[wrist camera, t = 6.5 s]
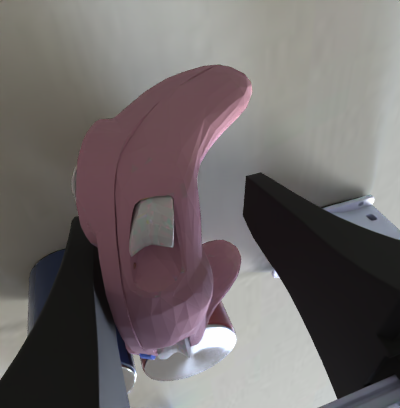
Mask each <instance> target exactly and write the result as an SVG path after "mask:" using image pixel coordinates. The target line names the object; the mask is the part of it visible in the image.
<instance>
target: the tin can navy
mask: <svg viewBox="0 0 400 408" xmlns="http://www.w3.org/2000/svg"><path fill="white" fill-rule="evenodd" d="M64 252H65V249H63V250H60V251H56V252H54V253H51V254H49V255H48V256H46V257H44V258H43V259H41V260H40V261H39V262H38V263H37V264H36V265H35V266H34V268H33V269H32V271H31V273H30V277H29V302H28V333H27V337H28V335H29V333H30V331H31V330H32V328H33V326H34V324H35V322H36V321H37V319H38V317H39V315H40V313H41V311H42V309H43V306H44V304H45V302H46V300H47V298H48V296H49V293H50V291H51V288H52V286H53V283H54V281H55V278H56V276H57V273H58V270H59V268H60V265H61V262H62V258H63V255H64ZM115 326H116V325H115ZM116 336H117V343H118V350H119V355H120V360H121V365H122V370H123V376H124V381H125V386H126V390H127V394H128V393H129V392H130V390H131V389H132V388H133V386H134V384H135V380H136V369H135V364H134V359H133V354H130V353H129V352H128V350H127V349H126V345H125V342H124V340H123V339H122V337H121V335H120V333H119V331H118V329H117V327H116Z"/></svg>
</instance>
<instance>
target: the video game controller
mask: <svg viewBox="0 0 400 408" xmlns="http://www.w3.org/2000/svg"><path fill="white" fill-rule="evenodd" d="M251 94H252V85H251V81H250V80H249V79H248V78H247V77H246V75H245V74H244V73H242V72H240V71H238V70H236V69H234V68H232V67H227V66H222V65H210V66H202V67H198V68H195V69H191V70H188V71H185V72H182V73H179V74H177V75H174V76H172V77H169V78H167V79H165V80H163V81H162V82H160V83H158V84H157V85H155V86H153V87H152V88H150V89H148V90H147V91H145V92H144V93H143V94H142V95H140V96H139V97H138V98H137V99H136V100H135V101H133V102H132V103H131V104H130V105H129V106H127V107H126V108H125V109H124V110H123V111H122V112H120V113H119V114H118V115H117V116H116V117H114V118H111V119H100V120H98V121H96V122H95V123H94V124H93V125H92V126H91V127H90V129H89V130H88V131H87V133H86V135H85V137H84V139H83V142H82V145H81V149H80V152H79V156H78V160H77V165H76V167H75V168H74V171H73V175H72V179H71V187H72V191H73V196H74V198H75V200H76V206H77V211H78V216H79V221H80V225H81V228H82V230H83V232H84V234H85V235H86V237H87V238H88V240H89V241H90V243H91V244H93V245H94V246H96V247H98V253H99V260H100V267H101V272H102V277H103V282H104V288H105V293H106V297H107V300H108V303H109V307H110V310H111V313H112V316H113V319H114V322H115V325H116V327H117V329H118V331H119V333H120V335H121V337H122V339H123V340H124V342H125V345H126V349H127V350H128V352H129V353H130V354H135V355H140V358H143V359H151V360H155V358H156V356H157V357H158V358H159V359H167V358H169V357H170V356H171V355H172V354H174V353H176V352H180V353H183V354H184V355H185V356H187V357H188V358H190V357H191V349H190V347H192V346H195V345H197V344H198V343H199V342H200V341H201V339H202V338H203V335H204V332H205V330H206V327H207V324H208V322H209V319H210V317H211V315H212V313H213V312H214V310H215V309H216V307H217V305H218V304H219V302H220V301H221V300H222V298H223V297H224V296H225V294H226V293H227V292H228V291H229V289H230V288H231V286H232V285H233V283H234V281H235V280H236V278H237V276H238V273H239V270H240V265H241V255H240V253H239V251H238V249H237V247H236V246H235V245H233V244H232V243H230V242H227V241H225V240H214V241H209V242H206V243H204V244H202V234H201V213H200V203H199V194H198V185H197V176H198V172H199V167H200V163H201V162H202V160H203V158H204V157H205V155H206V153H207V152H208V150H209V149H210V147H211V146H212V145H213V144H214V142H215V141H216V140H217V139H218V137H219V136H220V135H221V134H222V133H223V132H224V131H225V130H226V129H227V128H228V127H229V126H230V125H231V124H232V123H233V122H234V121H235V120H236V119H237V118H238V117H239V116H240V115H241V113H242V112H243V111H244V110H245V109H246V108H247V105H248V102H249V100H250V97H251Z"/></svg>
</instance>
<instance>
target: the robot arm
mask: <svg viewBox="0 0 400 408" xmlns="http://www.w3.org/2000/svg"><path fill="white" fill-rule="evenodd" d="M374 199H375V198H374V197H373V196H372V195H367V196H364V197H360V198H357V199H353V200H350V201H346V202H342V203H339V204H335V205H332V206H328V207H325V208H320V207H318V206H317V205H315V204H313V203H311V202H309V201H308V200H306V199H304V198H302V197H301V196H299V195H297V194H296V193H294V192H292V191H291V190H289V189H287V188H286V187H284V186H282V185H281V184H279V183H277V182H276V181H274V180H273V179H271V178H269V177H268V176H266V175H264V174H262V173H257V174H253V175H249V176H246V183H245V195H244V208H243V217H244V219H245V221H246V223H247V226H248V228H249V230H250V232H251V234H252V236H253V238H254V239H255V241H256V242H257V244H258V246H259V247H260V249H261V250H262V252H263V253H264V255H265V256H266V258H267V259H268V261H269V262H270V264H271V265H272V267H273V269H272V276H273V277H275V278H277V277H280V279H281V280H282V282H283V284H284V285H285V287H286V289H287V290H288V292H289V294H290V296H291V298H292V300H293V302H294V304H295V305H296V307H297V309H298V311H299V313H300V315H301V317H302V319H303V321H304V323H305V325H306V328H307V330H308V332H309V334H310V336H311V338H312V340H313V342H314V345H315V347H316V349H317V351H318V353H319V356H320V358H321V360H322V362H323V365H324V367H325V370H326V372H327V374H328V377H329V379H330V382H331V384H332V386H333V389H334V391H335V394H336V397H337V400H335V401H333V402H331V403H328V404H326V405H324V406H321V407H319V408H400V230H399V229H398V228H397V227H396V226H395V225H394V224H393V223H391V222H390V221H389V220H388V219H387V218H386V217H385V216H384V215H383V214H382V213H381V212H379V211H378V210H377V209H376V208H375V207H374V206H373V205H372V204H373V202H374ZM0 408H130V405H129V400H128V395H127V390H126V386H125V381H124V376H123V370H122V365H121V360H120V355H119V350H118V343H117V336H116V326H115V322H114V319H113V316H112V313H111V310H110V307H109V303H108V300H107V297H106V293H105V288H104V282H103V277H102V272H101V267H100V260H99V253H98V247H96V246H94V245H93V244H91V243H90V241H89V240H88V238H87V237H86V235H85V234H84V232H83V230H82V228H81V225H80V221H79V216H78V217H74V218H73V220H72V222H71V229H70V233H69V238H68V242H67V245H66V249H65V252H64V255H63V258H62V262H61V265H60V268H59V270H58V273H57V276H56V278H55V281H54V283H53V286H52V288H51V291H50V293H49V296H48V298H47V300H46V302H45V304H44V306H43V309H42V311H41V313H40V315H39V317H38V319H37V321H36V322H35V324H34V326H33V328H32V330H31V331H30V333H29V335H28V337H27V339H26V340H25V342H24V344H23V346H22V347H21V349H20V351H19V352H18V354H17V355H16V357H15V359H14V360H13V362H12V363H11V365H10V366H9V368H8V369H7V371H6V372H5V374H4V375H3V377H2V378H1V380H0Z"/></svg>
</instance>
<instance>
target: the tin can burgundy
mask: <svg viewBox="0 0 400 408" xmlns="http://www.w3.org/2000/svg"><path fill="white" fill-rule="evenodd" d="M235 341H236V334H235V330H234V328H233V326H232V323H231V321H230V319H229V317H228V314H227V312H226V310H225V308H224V306H223V303H222V301H220V302H219V304H218V305H217V307H216V309H215V310H214V312H213V313H212V315H211V317H210V319H209V322H208V324H207V327H206V330H205V332H204V335H203V338H202V339H201V341H200V342H199V343H198V344H197V345H195V346H192V347H190V349H191V357H190V358H188V357H187V356H185V355H184V354H183V353H180V352H176V353H174V354H172V355H171V356H170V357H169V358H167V359H159V358H158V357H157V356H156V358H155V360H151V359H143V358H140V359H141V364H142V369H143V371H144V372H145V373H146V375H147V376H148V377H150V378H151V379H154V380H158V381H173V380H179V379H183V378H187V377H190V376H193V375H196V374H198V373H200V372H202V371H205V370H207V369H208V368H210V367H212V366H214V365H215V364H217V363H218V362H219V361H221V360H222V359H223V358H224V357H225V356H226V355H227V354H228V353H229V352H230V351H231V350H232V348H233V346H234V344H235Z"/></svg>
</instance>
